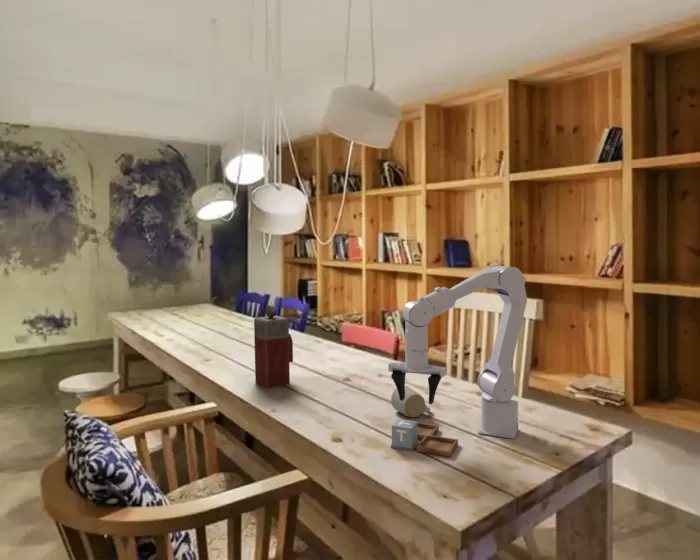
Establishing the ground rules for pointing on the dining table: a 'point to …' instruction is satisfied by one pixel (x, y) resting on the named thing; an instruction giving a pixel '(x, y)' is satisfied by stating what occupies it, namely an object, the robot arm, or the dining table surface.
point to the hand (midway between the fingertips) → (416, 401)
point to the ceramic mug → (409, 403)
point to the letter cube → (404, 433)
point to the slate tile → (405, 447)
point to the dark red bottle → (272, 349)
